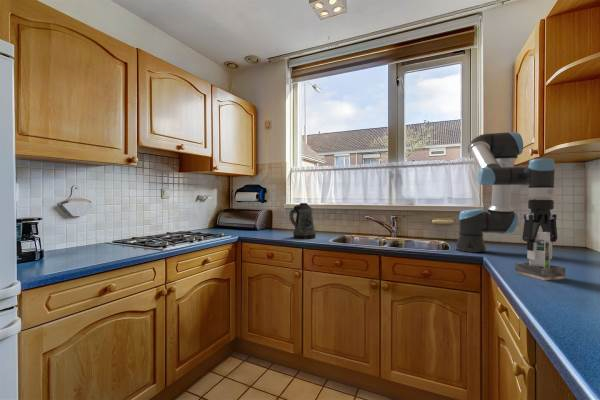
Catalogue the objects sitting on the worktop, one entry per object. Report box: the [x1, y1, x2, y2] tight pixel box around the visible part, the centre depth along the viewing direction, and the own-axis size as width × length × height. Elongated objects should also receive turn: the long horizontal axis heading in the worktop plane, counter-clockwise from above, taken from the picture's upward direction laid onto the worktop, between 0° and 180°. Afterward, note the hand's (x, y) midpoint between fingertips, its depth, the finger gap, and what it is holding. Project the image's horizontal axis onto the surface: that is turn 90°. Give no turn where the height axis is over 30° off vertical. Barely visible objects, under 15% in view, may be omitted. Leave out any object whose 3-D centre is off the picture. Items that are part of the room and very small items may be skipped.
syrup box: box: [529, 230, 551, 269], centre depth 110 cm, size 6×6×14 cm
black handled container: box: [289, 202, 317, 240], centre depth 207 cm, size 16×19×25 cm
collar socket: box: [514, 261, 566, 281], centre depth 110 cm, size 11×11×4 cm
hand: (539, 258), depth 110 cm, fingers closed on syrup box, 7 cm apart
